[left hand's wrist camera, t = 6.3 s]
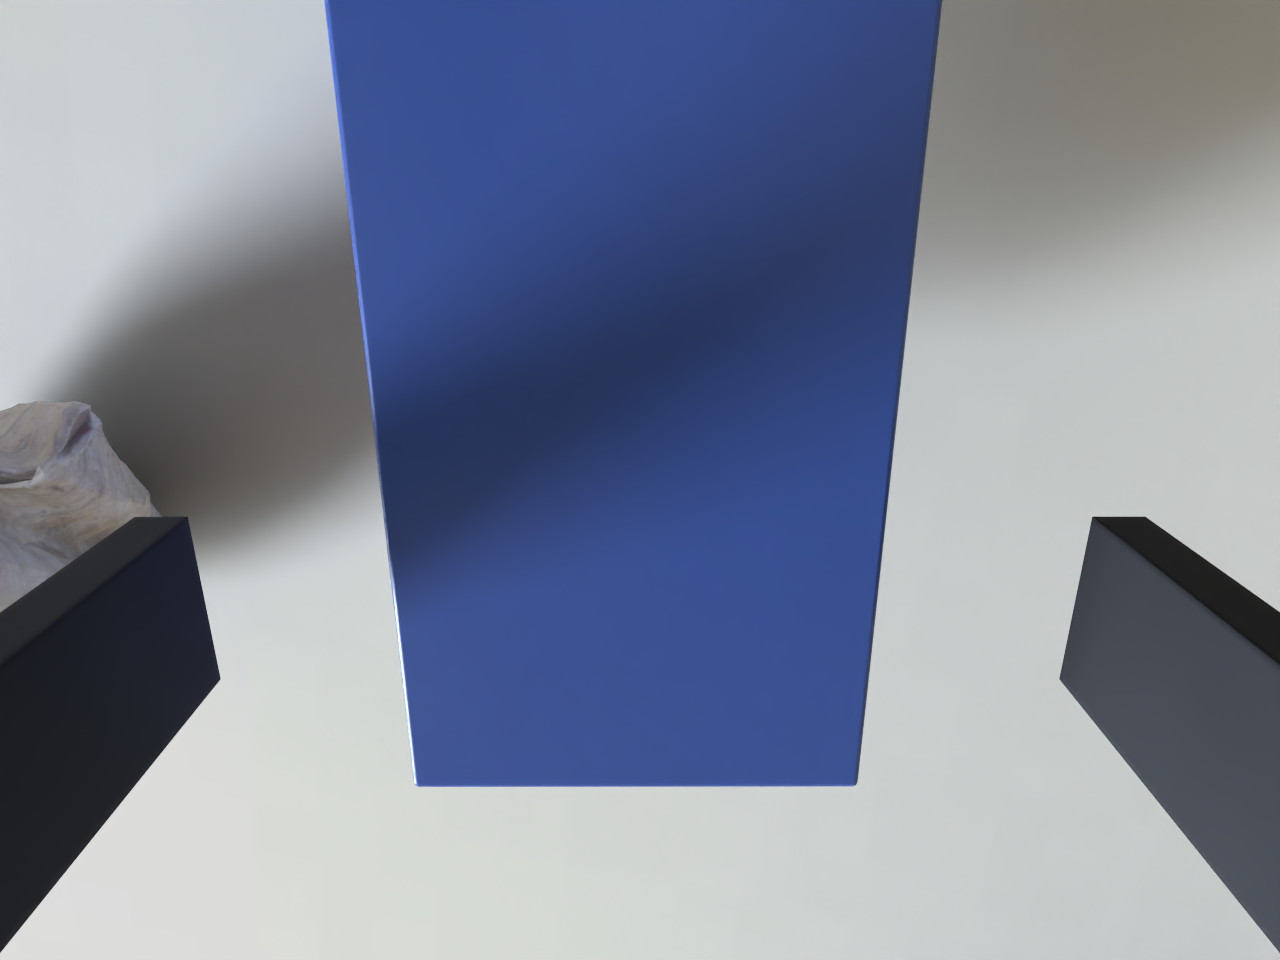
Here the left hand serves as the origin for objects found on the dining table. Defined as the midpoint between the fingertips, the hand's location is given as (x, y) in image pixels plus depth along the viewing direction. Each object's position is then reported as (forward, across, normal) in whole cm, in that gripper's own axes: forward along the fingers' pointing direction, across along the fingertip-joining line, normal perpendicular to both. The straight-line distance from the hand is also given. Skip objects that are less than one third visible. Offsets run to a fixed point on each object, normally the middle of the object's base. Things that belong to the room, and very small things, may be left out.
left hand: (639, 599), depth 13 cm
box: (+13, 0, -12) cm, 17 cm away
